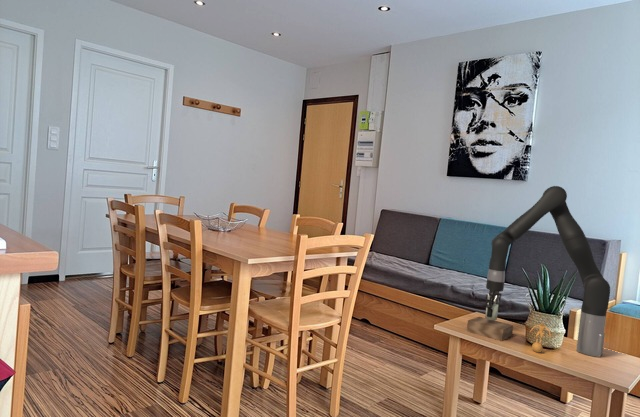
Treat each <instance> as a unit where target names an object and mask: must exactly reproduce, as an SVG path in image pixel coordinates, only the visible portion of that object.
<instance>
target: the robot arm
mask: <svg viewBox="0 0 640 417" xmlns="http://www.w3.org/2000/svg"><path fill="white" fill-rule="evenodd" d="M567 198H568V194H567V191H566V190H565V189H564V188H563V187H561V186H558V185H553V186H549V187H548V188H546V189H545V190H544V191H543V193H542V196H541V197H540V198H539V199H538V201H536V203H534V204H533V206H532V207H530V208H529V209H528V210H526V211H525V212H524V213H523V214H521V215H520V216H519V217H517V218H516V219H515V220H514V221H513V222H511V224H509V225H508V226H507V228H506V229H504V230H503V231H502V232H500V233H499V234H497V235H496V236H495V237H494V238H493V239H492V240H491V257H490V259H489V263H488V264H489V265H488V271H487V275H486V276H487V277H486V284H485V285H486V286H485V287H486V290H489V292H488V294H485V308H486V307H487V317H492V312H493V306H494V305H495V303H496V304H498V307H500V304H501V299H502V293H501V292H503V291H504V290H505V289H504V287H505V279H506V267H507V266H506V264H507V257H508V252H509V248H510V246H511V245H512V244H513V243H514V242H515V241H517V240H519V239H520V238H521V237H523V236H524V235H525V234H526V233H527V232H528V231H529V230H530V229H531V228H533V226H535V225H536V224H537V223H538V222H539V221H540V220H541V219H543V217H545V216H546V215H547V214H549V213H550V215H551V217H552V219H553V220H554V223H555V226H556V229H557V232H558V235H559V237H560V239H561V242H562V244H563V246H564V248H565V251H566V252H567V254H568V256H569V257H570V259H571V260H572V262H573V264H574V265H575V266H576V268H577V270H578V273H579V276H580V278H581V282H582V285H583V289H584V291H583V298H582V305H581V308H580V309H581V310H580V317H579V318H580V319H579V323H578V324H579V326H578V331H577V332H578V333H577V341H576V342H577V343H576V351H577V352H579V353H580V354H582V355H586V356H590V357H591V356H592V357H597V358H601V356H603V352H604V345H605V344H604V343H605V336H606V335H605V327H606V319H607V312H608V309H609V302H610V296H611V295H610V294H611V286H610V283H609V282H608V280H606V279H605V278H604V276H603V275H602V273H601V271H600V269H599V268H598V265H596V262H595V259H594V256H593V252H592V248H591V246H590V243H589V241H588V239H587V236H586V234H585V232H584V230H583V229H582V227H581V226H580V224H579V223H578V222H577V220H576V219H575V218H574V217H573V215H572V213H571V211H570V209H569V206H568V204H567ZM489 304H490V305H489Z"/></svg>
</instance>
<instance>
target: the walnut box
mask: <svg viewBox="0 0 640 417" xmlns="http://www.w3.org/2000/svg"><path fill="white" fill-rule="evenodd" d="M466 326H467V327H466V332H469V333H472V334H476V335H479V336H483V337H487V338H489V339H493V340H496V341H501V342H503V341H505V340H506V339H508V338H510V337H513V330H514V324H510V323H506V322H502V321H499V320H490V319H486V318H485V317H483V316H477V317H473V318H471V319H468V320H467V325H466Z"/></svg>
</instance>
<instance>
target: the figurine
mask: <svg viewBox="0 0 640 417" xmlns="http://www.w3.org/2000/svg"><path fill="white" fill-rule="evenodd" d="M535 328H538V329H539V330H538V331H537V332H536V335H535V336H536V341H535V342H534V343H532V346H531V348H532V349H531V350H532V351H533V352H535V353H541V352H542V351H543V349H544V348H543V345H542V341H543V338H544V335H545V332H544V331H545V329H546V330H547V332H548V334H549V338H551V337H552V335H551V330H550V328H548V327H547V326H546V325H545V324H544V323H542V322H541V323H540V324H536V325H534V326H533V327H531V329H530V330H529V333H531V332H532V331H533V330H534V329H535ZM539 336H540V340H539ZM538 341H539V342H538Z"/></svg>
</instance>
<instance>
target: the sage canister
mask: <svg viewBox="0 0 640 417" xmlns="http://www.w3.org/2000/svg"><path fill="white" fill-rule="evenodd" d="M489 305H490V304H489ZM498 312H499V306H498V304H496V303H495V305H494V306H493V312H492V317H487V307H486V306H485V316H484V318H486V319H490V320H495V321H498Z"/></svg>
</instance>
